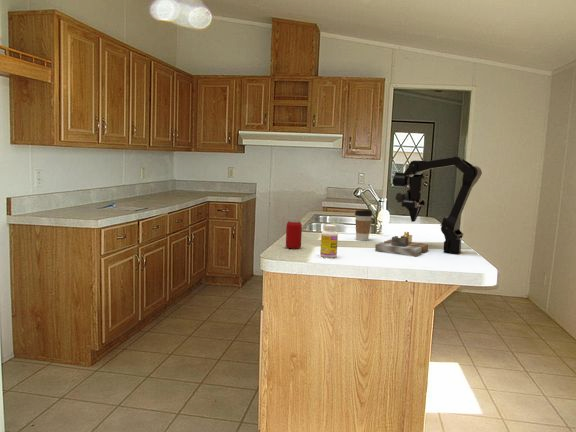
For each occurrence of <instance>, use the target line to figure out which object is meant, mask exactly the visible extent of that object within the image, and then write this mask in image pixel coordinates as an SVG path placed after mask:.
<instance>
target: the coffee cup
mask: <svg viewBox="0 0 576 432" xmlns="http://www.w3.org/2000/svg"><path fill="white" fill-rule="evenodd" d="M372 212H373V211H372V210H371V209H359V210H358V209H357V210H355V213H354V216H355V238H356V239H355V240H356V241H360V242H368V241H369V237H370V231H371V230H370V229H371V223H372V217H373V213H372Z"/></svg>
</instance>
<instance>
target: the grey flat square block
mask: <svg viewBox="0 0 576 432" xmlns="http://www.w3.org/2000/svg"><path fill="white" fill-rule="evenodd" d="M408 238H409V237H406V238H401V237H399V236H398V235H395V236H392V237H391V239H388V240H385V241H381V242H379V243H376V244H375V249H374V251H375V252H377V253H384V254H385V253H386V254H394V255H400V256H409V257H418V256H420V255H422V254H425V253H426V252H428V251H429V243H421V242H413V241H412V242H410V243H408Z"/></svg>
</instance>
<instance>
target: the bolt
mask: <svg viewBox="0 0 576 432" xmlns="http://www.w3.org/2000/svg"><path fill="white" fill-rule="evenodd" d="M406 237H409V238H408V243H410V242H413V235H412V234H410V232H409V231H404V234H403V235H401V236H400V238H406Z"/></svg>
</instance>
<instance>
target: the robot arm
mask: <svg viewBox="0 0 576 432" xmlns="http://www.w3.org/2000/svg"><path fill="white" fill-rule="evenodd" d="M453 166H455V167H456V168H457V169H458V170H459V171H460V172H461V173H463V174H462V179H461V180H462V181H461V187H460V189H459V191H458V194H457V196H456V198H455V201H454V203H453V207H452V209H451V211H450V214H448V215H447V216H444V217H443V218H442V223H441V224H440V232H441V233H442V234H443V236H444V239H445V240H444V241H443V248H442V249H443V253H447V254H454V255H460V254H461V253H462V239H463V236H464V233H463V232H462V231H461V230H460V222H461V221H460V220H461V215H462V213H463V210H464V208H465V206H466V203H467V201H468V200H469V199H468V198H469V196H470V194H471V191H472V189H473V187H474V186H475V185H476V184H477V183H478V182H479V179H480V178H481V176H482V174H483V173H482V169H481V168H480V167H479V166H476V165H473V164H472V163H470V162H468V161H467V160H466V159H465V158H463V157H462V156H459V155H458V156H457V155H455V156H451V157H446V158H439V159H438V158H437V159H431V160H411V161H410V162H409V164H408V167H407V168H406V170H405V171H404V172H401V171H400V172H398V171H395V173H394V176H393V179H392V185H393V187H397V188H407V187H408V189H407V190H406V193H401V192H398V193H396V195H395V200H396V202H397V203H401V207H403V208H406V209H407V210H408V212H409V217H410V221H411V222H413V223H414V222H416V221H417V218H418V216H419V215H420V213H421V211H422V209H423V206H427V202H428V201H427V200H426V198H425V199H424V198H422V193H423V192H424V190H423V179H427V178H428V176H427V175H426V174H425V173H424V172H427V171H430V170H432V169H439V168H447V167H453ZM411 175H412V176H411Z"/></svg>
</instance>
